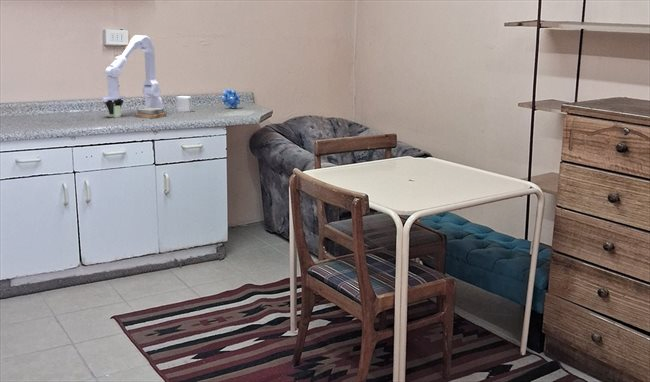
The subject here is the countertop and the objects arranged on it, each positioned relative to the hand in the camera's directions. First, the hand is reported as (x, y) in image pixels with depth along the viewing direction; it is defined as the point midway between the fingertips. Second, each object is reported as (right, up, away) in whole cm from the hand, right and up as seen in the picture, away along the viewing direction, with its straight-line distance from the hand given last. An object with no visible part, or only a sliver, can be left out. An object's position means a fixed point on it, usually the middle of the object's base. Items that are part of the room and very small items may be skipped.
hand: (114, 113), depth 400 cm
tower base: (+20, -2, +2) cm, 20 cm away
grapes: (+59, +7, +39) cm, 72 cm away
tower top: (+20, 0, +1) cm, 20 cm away
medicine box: (+34, +4, +25) cm, 42 cm away
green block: (0, -2, 0) cm, 2 cm away
